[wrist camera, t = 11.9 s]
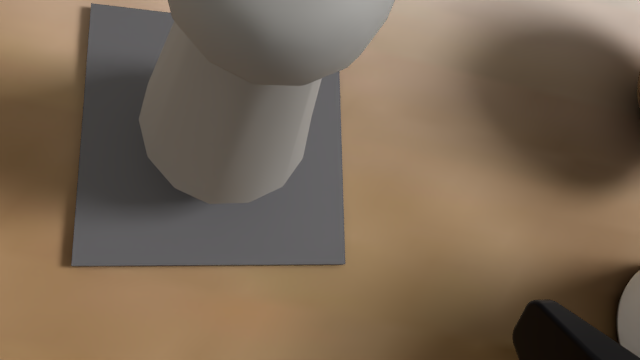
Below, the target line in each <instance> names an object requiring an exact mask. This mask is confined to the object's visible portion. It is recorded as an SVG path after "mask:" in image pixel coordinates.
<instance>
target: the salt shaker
mask: <svg viewBox="0 0 640 360" xmlns="http://www.w3.org/2000/svg"><path fill="white" fill-rule="evenodd" d="M394 1H395V0H168V3H169V7H170V11H171V15H172V18H173V20H174V23H173V25H172V27H171V30H170V32H169V35H168V37H167V39H166V42H165V44H164V46H163V49H162V51H161V54H160V56H159V58H158V61H157V63H156V65H155V68H154V70H153V73H152V75H151V77H150V80H149V82H148V85H147V89H146V93H145V97H144V101H143V104H142V108H141V112H140V116H139V123H140V127H141V131H142V136H143V140H144V144H145V148H146V153H147V157H148V158H149V159H150V160H151V162H152V163H153V164H154V165H155V166H156V167H157V168H158V170H159V171H160V172H161V173H162V174H163V175H164V177H165V178H166V179H167V180H168V181H169V182H170V183H171V185H172V186H173V187H174V188H176V189H178V190H180V191H182V192H184V193H186V194H189V195H191V196H193V197H195V198H197V199H199V200H202V201H204V202H206V203H208V204H226V203H249V202H251V201H254V200H256V199H258V198H260V197H262V196H264V195H266V194H268V193H270V192H273V191H275V190H277V189H279V188H281V187H283V185H284V184H285V183H286V181H287V180H288V178H289V177H290V176H291V174H292V173H293V171H294V170H295V169H296V167H297V166H298V164H299V163H300V162H301V160H302V159H303V155H304V151H305V146H306V141H307V136H308V132H309V127H310V122H311V118H312V113H313V110H314V106H315V102H316V98H317V95H318V91H319V87H320V83H321V80H322V78H323V77H326V76H328V75H331V74H333V73H335V72H338V71H340V70H343V69H345V68H347V67H348V66H349V65H350V64H351V63H352V62H354V61H355V60H356V59H357V58H358V57H359V56H360V55H361V53H362V52H363V51H364V49H365V48H366V47H367V45H368V44H369V43H370V41H371V40H372V39H373V37H374V36H375V35H376V33H377V32H378V31H379V29H380V28H381V26H382V25H383V24H384V22H385V21H386V20H387V18H388V15H389V13H390V11H391V8H392V6H393V4H394Z"/></svg>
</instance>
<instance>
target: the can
mask: <svg viewBox="0 0 640 360" xmlns="http://www.w3.org/2000/svg"><path fill="white" fill-rule="evenodd" d="M616 330H617V337H618V342H619V344H620V345H622V346H623V347H625V348H626V349H628V350H629V351H631V352H632V353H634V354H635V355H637V356H638V357H640V270H639V271H638V272H637V273H636V274H635V275H634V276H633V277H632V278H631V280H630V281H629V282H628V284H627V286H626V287H625V289H624V291H623V293H622V295H621V298H620V300H619V304H618V308H617V315H616Z"/></svg>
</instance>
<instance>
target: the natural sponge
mask: <svg viewBox="0 0 640 360" xmlns="http://www.w3.org/2000/svg"><path fill="white" fill-rule="evenodd" d="M637 97H638V105H639V109H640V73H639V77H638V88H637Z"/></svg>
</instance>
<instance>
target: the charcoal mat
mask: <svg viewBox="0 0 640 360" xmlns="http://www.w3.org/2000/svg"><path fill="white" fill-rule="evenodd" d="M173 23H174V20H173V18H172V15H171V13H167V12H159V11H150V10H142V9H134V8H125V7H117V6H109V5H100V4H92V3H91V13H90V26H89V39H88V53H87V66H86V79H85V92H84V106H83V119H82V132H81V145H80V158H79V172H78V185H77V198H76V211H75V224H74V238H73V251H72V264H71V266H198V265H343V264H345V241H344V209H343V176H342V144H341V111H340V79H339V71H338V72H335V73H333V74H331V75H328V76H326V77H323V78H322V80H321V83H320V87H319V91H318V95H317V98H316V102H315V106H314V110H313V113H312V118H311V122H310V127H309V132H308V136H307V141H306V146H305V151H304V155H303V159H302V160H301V162H300V163H299V164H298V166H297V167H296V169H295V170H294V171H293V173H292V174H291V176H290V177H289V178H288V180H287V181H286V183H285V184H284V185H283V187H281V188H279V189H277V190H275V191H273V192H270V193H268V194H266V195H264V196H262V197H260V198H258V199H256V200H254V201H251V202H249V203H226V204H208V203H206V202H204V201H202V200H199V199H197V198H195V197H193V196H191V195H189V194H186V193H184V192H182V191H180V190H178V189H176V188H174V187H173V186H172V185H171V183H170V182H169V181H168V180H167V179H166V178H165V177H164V175H163V174H162V173H161V172H160V171H159V170H158V168H157V167H156V166H155V165H154V164H153V163H152V162H151V160H150V159H149V158H148V157H147V153H146V148H145V144H144V140H143V136H142V131H141V127H140V123H139V116H140V112H141V108H142V104H143V101H144V97H145V93H146V89H147V85H148V82H149V80H150V77H151V75H152V73H153V70H154V68H155V65H156V63H157V61H158V58H159V56H160V54H161V51H162V49H163V46H164V44H165V42H166V39H167V37H168V35H169V32H170V30H171V27H172V25H173Z"/></svg>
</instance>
